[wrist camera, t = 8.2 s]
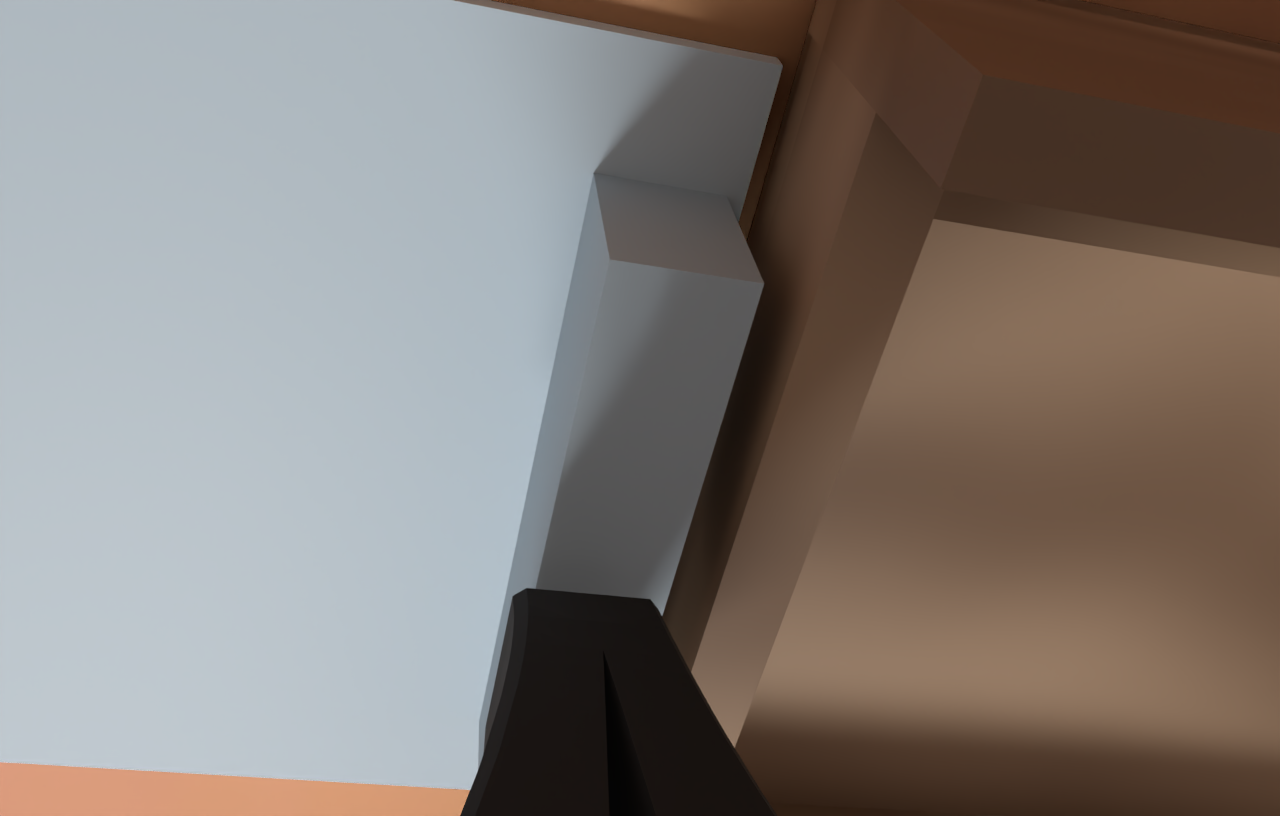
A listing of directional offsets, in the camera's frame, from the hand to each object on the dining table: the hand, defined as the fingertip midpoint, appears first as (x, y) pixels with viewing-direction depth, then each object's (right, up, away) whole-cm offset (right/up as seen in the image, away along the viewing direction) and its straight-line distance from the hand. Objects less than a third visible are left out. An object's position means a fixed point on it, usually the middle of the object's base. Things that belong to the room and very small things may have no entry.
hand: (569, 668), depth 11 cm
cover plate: (-6, +3, +2) cm, 7 cm away
